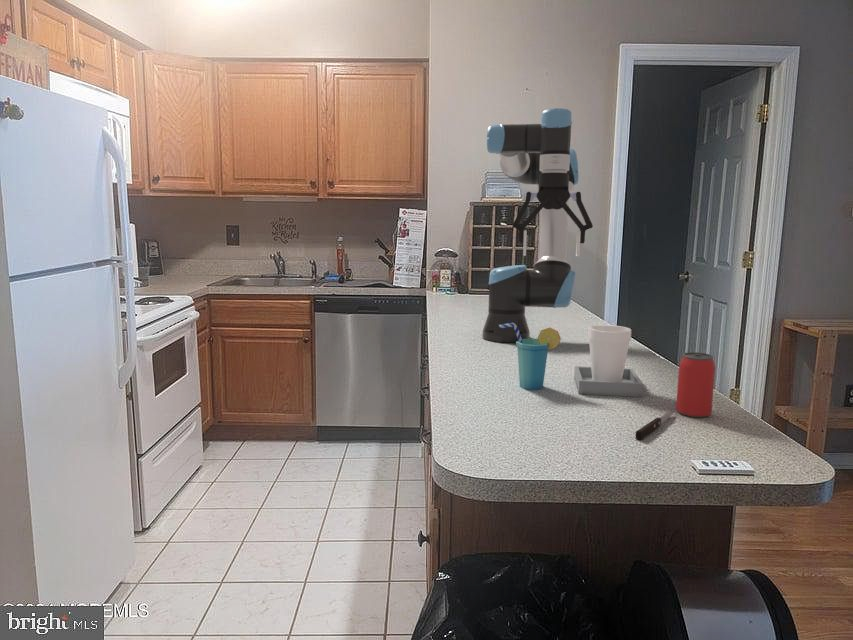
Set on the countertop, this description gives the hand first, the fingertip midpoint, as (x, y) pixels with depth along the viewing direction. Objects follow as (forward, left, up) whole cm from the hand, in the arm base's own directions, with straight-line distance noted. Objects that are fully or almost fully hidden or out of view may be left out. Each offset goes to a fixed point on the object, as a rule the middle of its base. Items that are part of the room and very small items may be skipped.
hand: (550, 256), depth 160 cm
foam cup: (+22, +13, -28) cm, 38 cm away
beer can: (+38, +28, -29) cm, 55 cm away
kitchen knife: (+48, +19, -29) cm, 59 cm away
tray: (+22, +13, -29) cm, 38 cm away
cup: (+24, -5, -29) cm, 38 cm away
